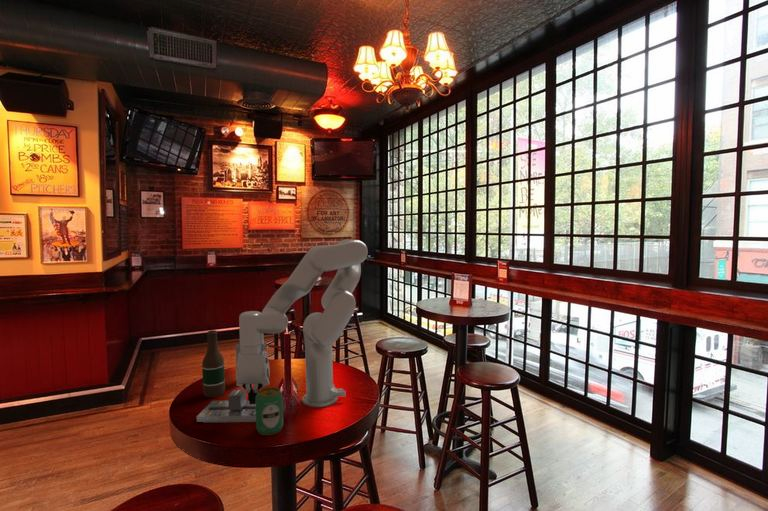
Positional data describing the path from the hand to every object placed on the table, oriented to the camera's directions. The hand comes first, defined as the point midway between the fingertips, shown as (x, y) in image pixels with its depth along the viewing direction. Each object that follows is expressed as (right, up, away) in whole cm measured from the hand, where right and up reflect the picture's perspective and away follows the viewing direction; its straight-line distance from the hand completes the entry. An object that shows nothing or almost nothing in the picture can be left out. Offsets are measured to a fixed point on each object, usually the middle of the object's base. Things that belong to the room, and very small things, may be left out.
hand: (253, 402), depth 136 cm
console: (-4, -4, 0) cm, 6 cm away
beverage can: (+8, -5, -11) cm, 14 cm away
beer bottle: (-20, -3, +18) cm, 27 cm away
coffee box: (-11, -2, +31) cm, 33 cm away
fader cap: (-5, -1, 0) cm, 6 cm away
